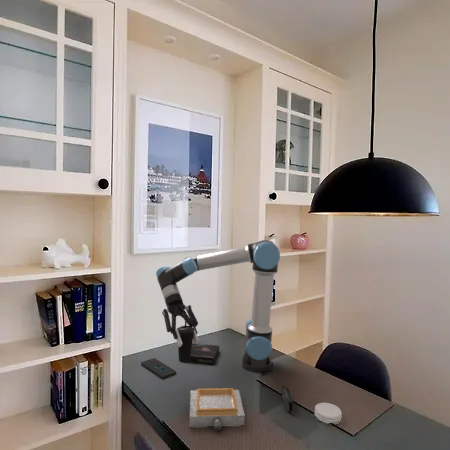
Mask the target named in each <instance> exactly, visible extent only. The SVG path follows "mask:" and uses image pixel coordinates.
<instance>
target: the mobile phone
mask: <svg viewBox="0 0 450 450" xmlns="http://www.w3.org/2000/svg"><path fill="white" fill-rule="evenodd" d="M281 398H282V400H283V402H284V408H285V409H286V411H287V412H288V413H291V415H292V416H293V417H294V416H295V413H294V398H293V395H292V393H291V391H290V389H289V387H287V386H286V385H282V386H281Z"/></svg>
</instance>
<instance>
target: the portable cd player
mask: <svg viewBox="0 0 450 450" xmlns="http://www.w3.org/2000/svg"><path fill="white" fill-rule="evenodd" d="M219 352H220V346H219V345H215V344H213V345H212V344H203V343H202V344H201V343H193V342H192V349H191V357H190V361H189V362H186V363H188V364H200V365H209V366H210V365H211V366H214V365H215V364H216V360H217V359H218V358H217V357H218V355H219ZM186 363H185V364H186Z"/></svg>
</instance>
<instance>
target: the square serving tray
mask: <svg viewBox="0 0 450 450" xmlns="http://www.w3.org/2000/svg"><path fill="white" fill-rule="evenodd" d="M189 399H190V401H189V429H190V427H192V428H207V427H206V426H213V427H212V428H213V429H214V431H216V432H219V431H221V430H222V428H223V427H222V426H225V425H227V426H228V425H234V426H233V427H236V426H235V425H244V426H245V419H246V418H245V417H246V415H245V411H244V407H243V403H242V397H241V393H240V390H239V389H234V388H233V387H227V388H226V387H225V388H224V387H222V388H221V387H220V388H218V387H217V388H213V387H212V388H197V389H195V390H190V398H189Z"/></svg>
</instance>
